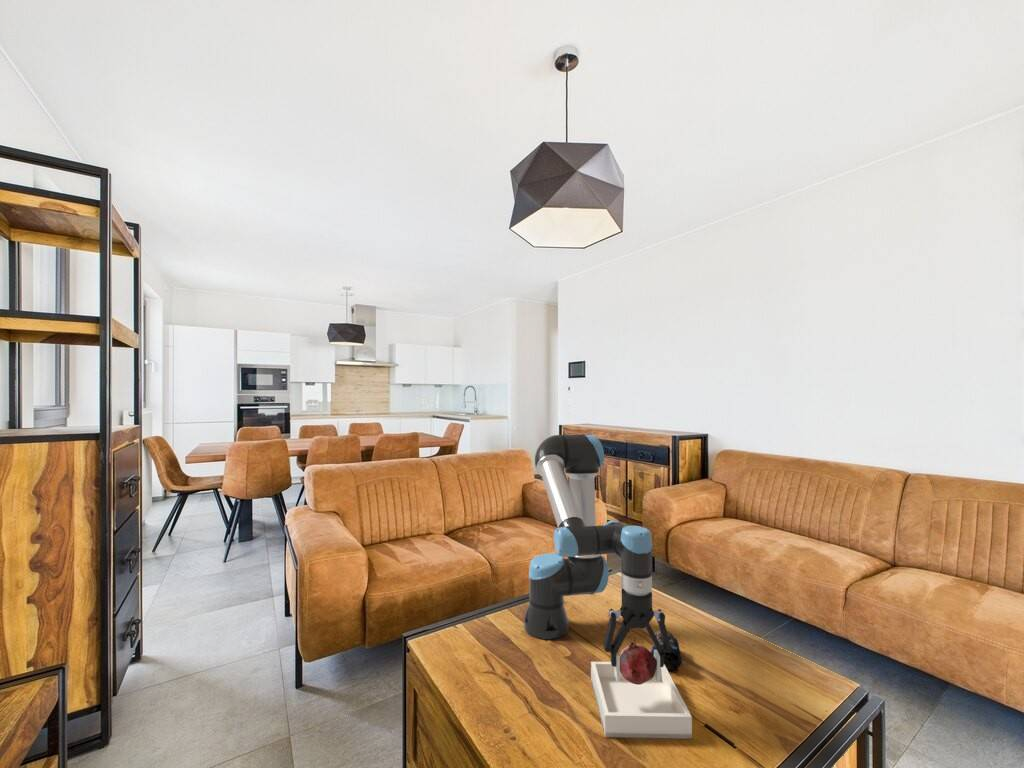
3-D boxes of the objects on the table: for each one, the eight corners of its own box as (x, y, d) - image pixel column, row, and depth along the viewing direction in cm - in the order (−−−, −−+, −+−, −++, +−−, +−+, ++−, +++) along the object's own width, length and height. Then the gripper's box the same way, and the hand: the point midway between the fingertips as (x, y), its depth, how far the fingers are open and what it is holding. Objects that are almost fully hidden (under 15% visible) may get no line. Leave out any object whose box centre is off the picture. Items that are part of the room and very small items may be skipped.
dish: (605, 737, 101) (605, 715, 101) (591, 679, 121) (591, 661, 121) (691, 738, 101) (691, 716, 101) (663, 680, 121) (663, 662, 121)
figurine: (646, 651, 125) (649, 619, 139) (655, 679, 125) (656, 644, 139) (678, 650, 122) (677, 617, 136) (686, 678, 122) (685, 642, 136)
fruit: (663, 680, 111) (663, 640, 111) (643, 697, 104) (642, 655, 104) (632, 663, 117) (632, 626, 118) (611, 678, 111) (611, 639, 111)
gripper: (595, 596, 108) (596, 688, 107) (685, 596, 107) (686, 689, 107) (591, 582, 115) (591, 668, 115) (674, 583, 115) (675, 669, 114)
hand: (637, 678), depth 111 cm, fingers closed on fruit, 9 cm apart
